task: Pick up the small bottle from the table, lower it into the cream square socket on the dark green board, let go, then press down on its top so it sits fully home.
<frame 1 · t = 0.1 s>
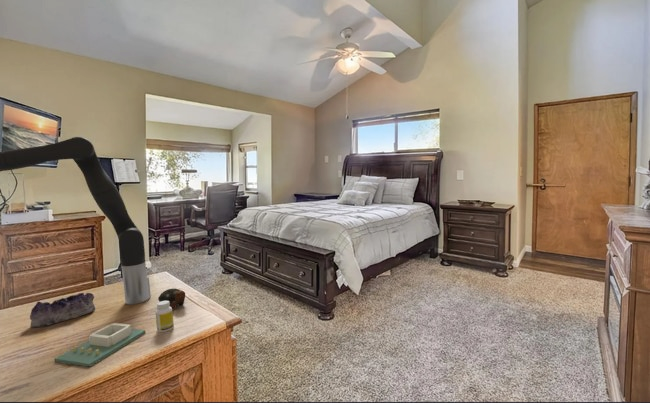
supplement bottle: (165, 329, 113), on the cabinet
decorative turtle: (172, 307, 133), on the cabinet
geode: (64, 318, 127), on the cabinet
header board: (103, 346, 103), on the cabinet
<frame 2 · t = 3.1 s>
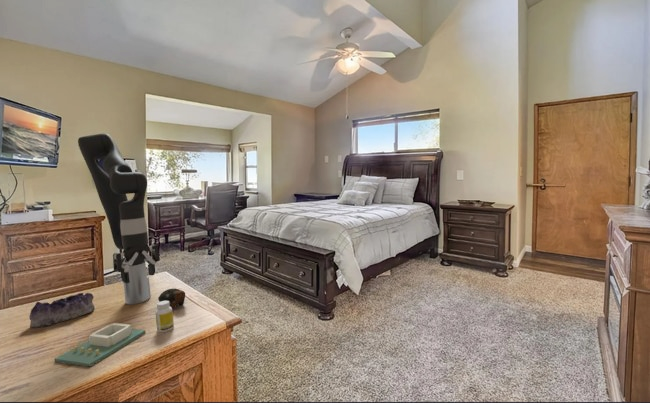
hand: (139, 278, 106), 21 cm above the cabinet, fingers open, 8 cm apart
nothing on the cabinet moved.
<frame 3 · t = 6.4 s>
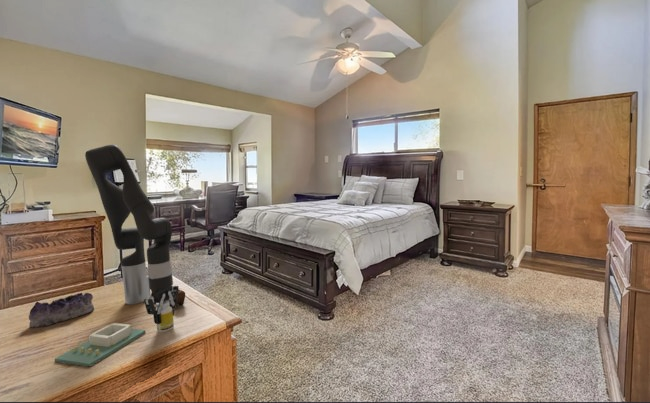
hand: (164, 319, 113), 4 cm above the cabinet, fingers closed on supplement bottle, 5 cm apart
supplement bottle: (165, 329, 113), on the cabinet, touching gripper
everything else where it was.
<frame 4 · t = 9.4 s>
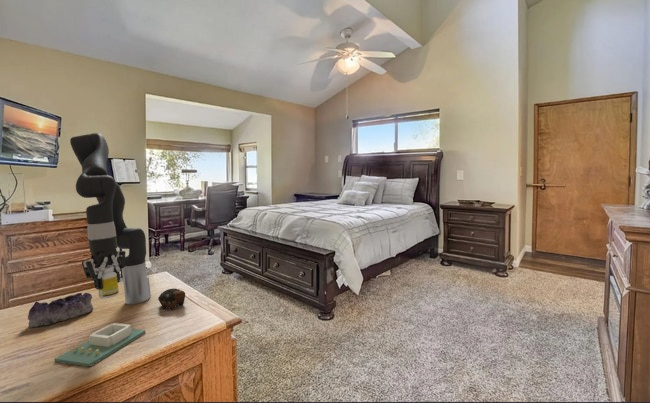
hand: (108, 285, 105), 19 cm above the cabinet, fingers closed on supplement bottle, 5 cm apart
supplement bottle: (109, 296, 105), point 16 cm above the cabinet, touching gripper
when the fingers open (6 cm above the cabinet, at t = 12.3 s): supplement bottle drops 1 cm, resting on header board.
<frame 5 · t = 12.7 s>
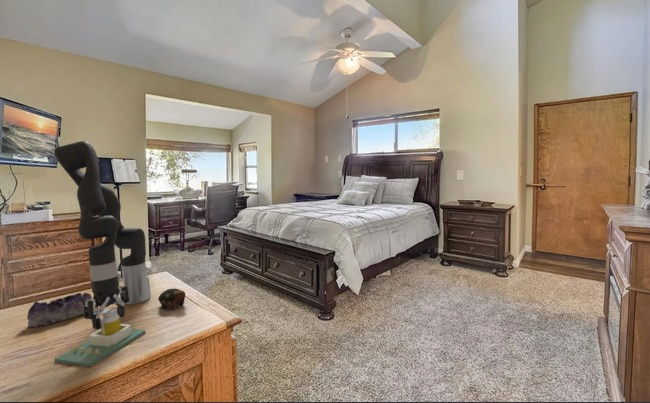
hand: (109, 322, 105), 7 cm above the cabinet, fingers open, 8 cm apart
supplement bottle: (112, 338, 106), point 1 cm above the cabinet, touching header board
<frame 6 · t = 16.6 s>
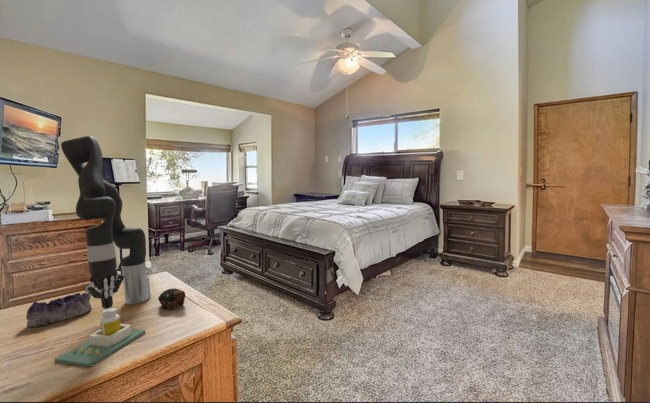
hand: (107, 307, 105), 12 cm above the cabinet, fingers closed
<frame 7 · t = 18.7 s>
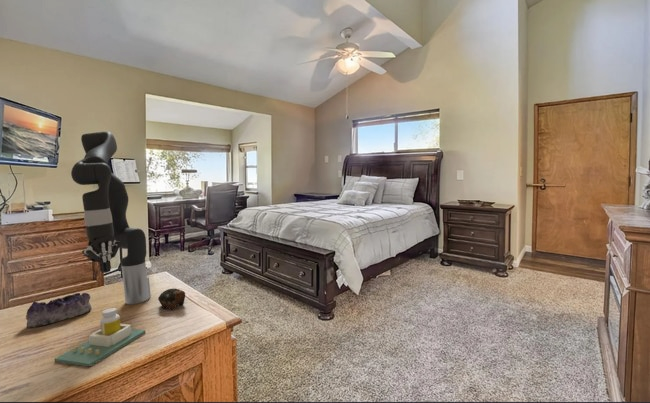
hand: (106, 272, 107), 23 cm above the cabinet, fingers closed
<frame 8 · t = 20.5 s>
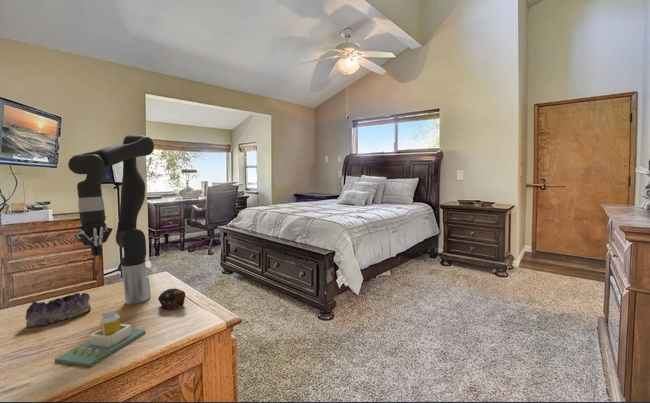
hand: (97, 255, 116), 27 cm above the cabinet, fingers closed
at the end: supplement bottle 0.2 cm from the target spot on the header board, point 0.8 cm above the header board's base; supplement bottle tilted 0°; the gripper is holding nothing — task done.
